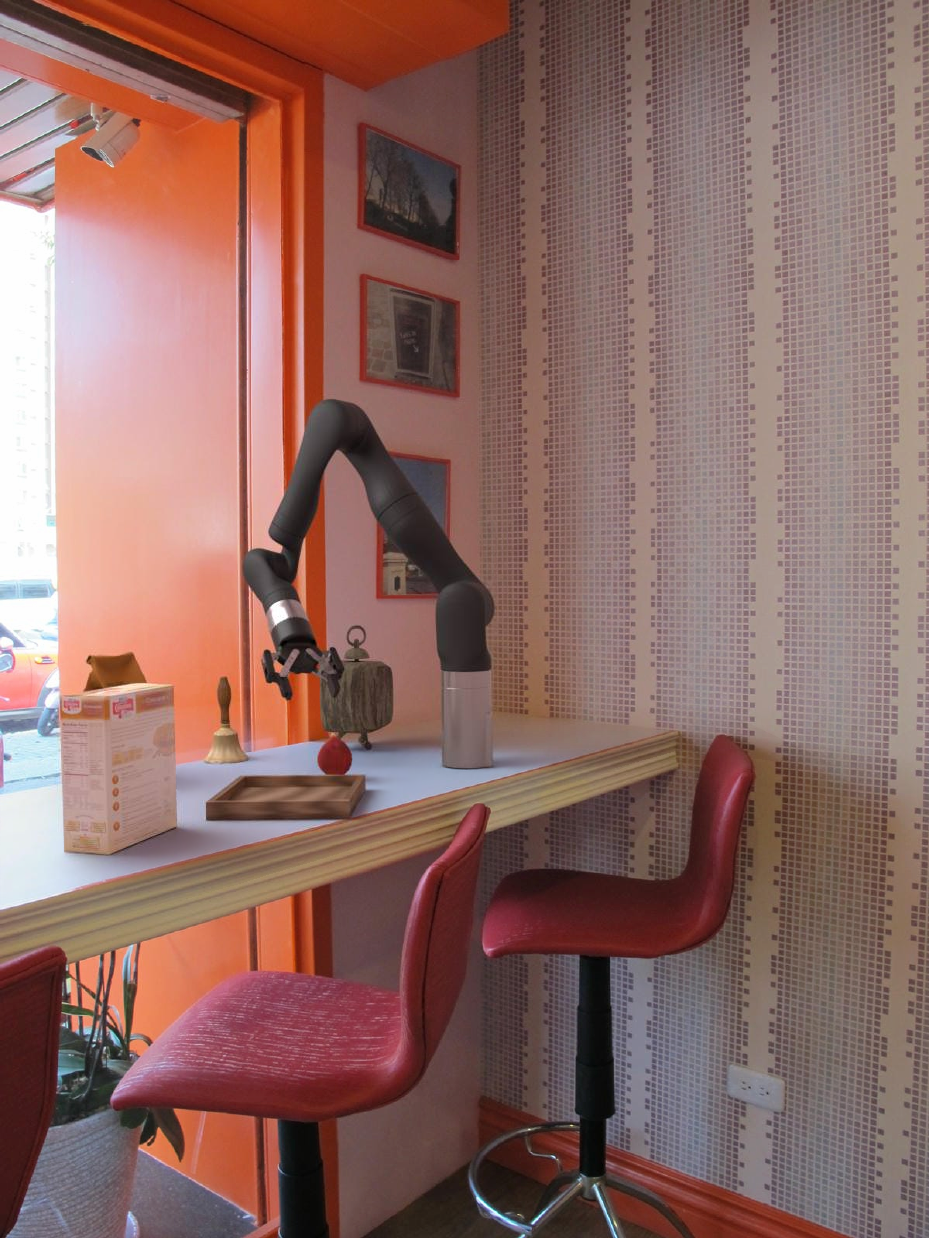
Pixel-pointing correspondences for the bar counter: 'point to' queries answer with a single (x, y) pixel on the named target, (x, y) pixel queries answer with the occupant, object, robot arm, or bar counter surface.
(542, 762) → the bar counter surface
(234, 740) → the hand bell
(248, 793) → the walnut tray
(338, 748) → the onion
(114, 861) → the bar counter surface
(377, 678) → the tabletop clock
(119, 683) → the coffee package
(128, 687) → the coffeecake box
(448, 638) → the robot arm
